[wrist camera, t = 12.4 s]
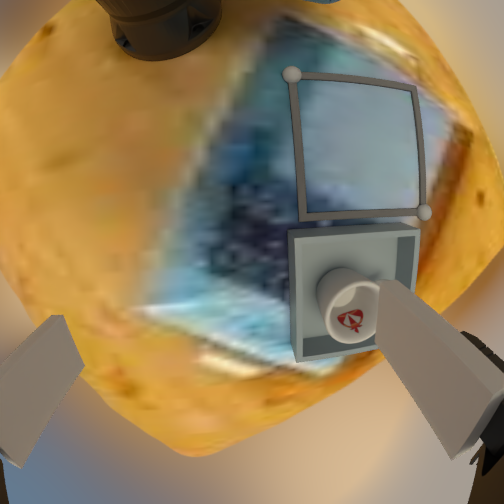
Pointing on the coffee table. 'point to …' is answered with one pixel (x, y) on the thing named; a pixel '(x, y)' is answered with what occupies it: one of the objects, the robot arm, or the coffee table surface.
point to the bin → (343, 256)
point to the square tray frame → (292, 77)
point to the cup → (348, 305)
